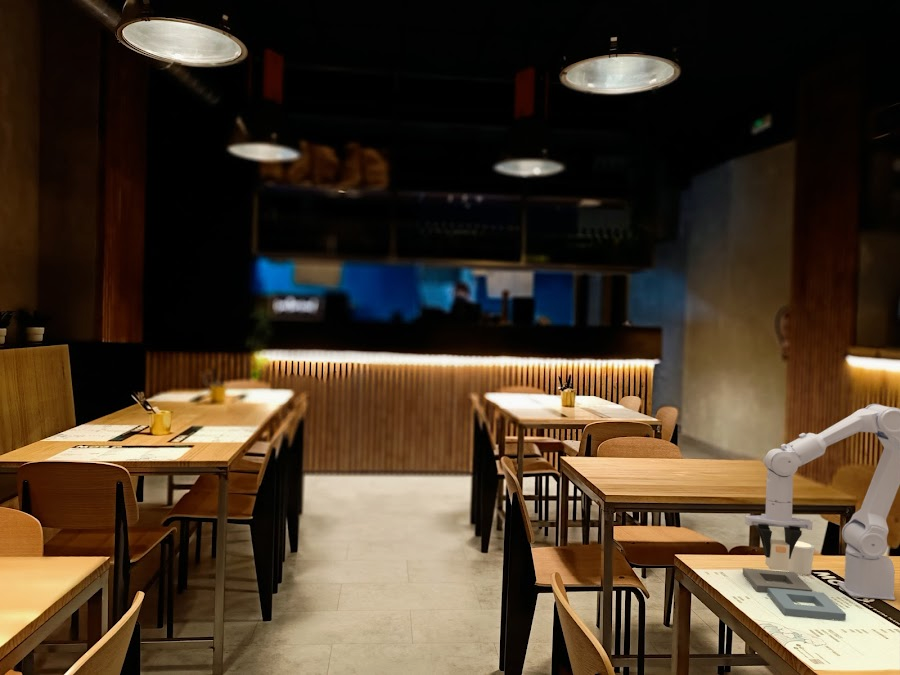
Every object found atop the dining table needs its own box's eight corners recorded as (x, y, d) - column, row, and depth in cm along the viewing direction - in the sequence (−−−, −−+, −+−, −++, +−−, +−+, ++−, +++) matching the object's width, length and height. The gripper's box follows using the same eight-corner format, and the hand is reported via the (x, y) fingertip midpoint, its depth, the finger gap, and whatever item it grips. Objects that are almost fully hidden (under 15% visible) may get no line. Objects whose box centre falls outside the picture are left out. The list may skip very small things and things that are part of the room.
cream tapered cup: (806, 567, 175) (807, 540, 175) (818, 577, 169) (819, 548, 168) (779, 565, 176) (780, 538, 176) (789, 575, 169) (790, 547, 169)
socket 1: (794, 578, 167) (794, 572, 167) (812, 596, 155) (812, 590, 155) (742, 573, 169) (742, 567, 169) (756, 591, 157) (756, 585, 157)
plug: (783, 565, 163) (783, 540, 163) (789, 571, 159) (790, 546, 159) (765, 563, 164) (766, 539, 164) (771, 570, 159) (772, 545, 159)
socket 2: (823, 599, 154) (823, 592, 154) (845, 621, 142) (845, 613, 142) (767, 594, 156) (767, 587, 156) (784, 615, 144) (784, 608, 144)
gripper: (805, 498, 165) (803, 554, 165) (742, 494, 167) (740, 549, 167) (816, 505, 158) (814, 563, 158) (750, 501, 160) (748, 558, 160)
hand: (777, 557), depth 162 cm, fingers closed on plug, 4 cm apart
